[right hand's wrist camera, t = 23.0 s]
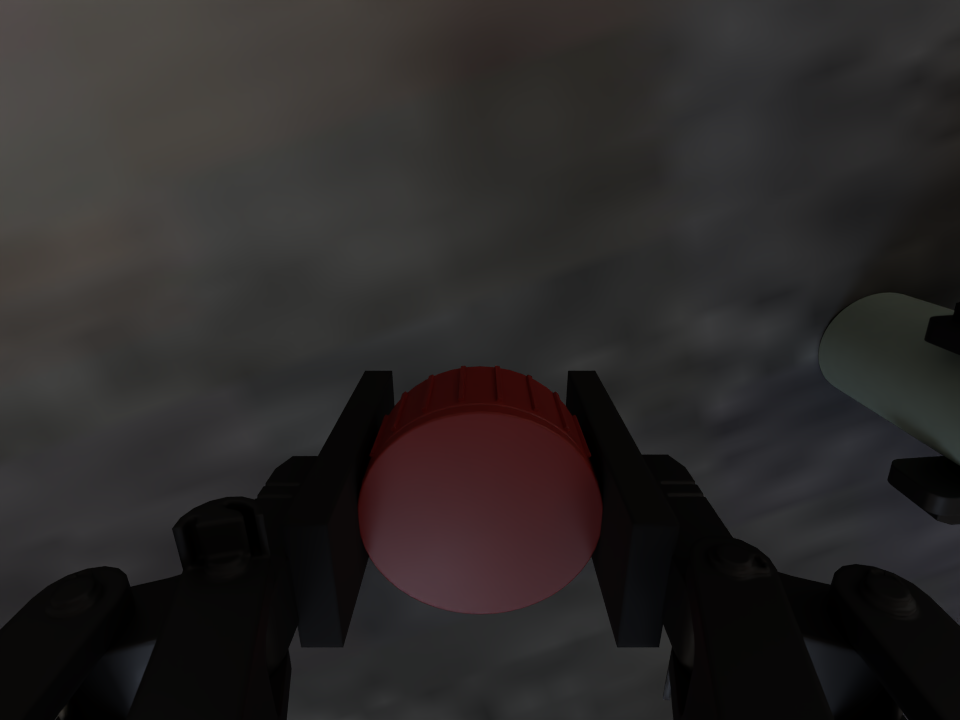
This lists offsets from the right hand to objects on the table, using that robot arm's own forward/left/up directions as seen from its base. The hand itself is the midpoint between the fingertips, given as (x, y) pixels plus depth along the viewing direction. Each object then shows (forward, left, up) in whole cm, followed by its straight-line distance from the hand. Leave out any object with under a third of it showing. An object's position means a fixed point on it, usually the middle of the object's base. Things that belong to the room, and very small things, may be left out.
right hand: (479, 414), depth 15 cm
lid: (0, 0, +4) cm, 4 cm away
